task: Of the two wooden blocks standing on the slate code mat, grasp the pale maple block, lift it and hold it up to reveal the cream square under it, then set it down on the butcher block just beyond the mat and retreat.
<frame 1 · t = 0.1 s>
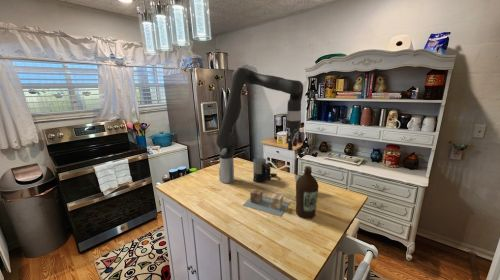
hand: (292, 148, 115), 29 cm above the worktop, fingers open, 8 cm apart
code mat: (266, 204, 114), on the worktop
food container: (302, 191, 127), on the worktop
milk frother: (265, 179, 145), on the worktop
maple block: (276, 206, 111), resting on code mat
walnut block: (256, 201, 117), resting on code mat
olive oil: (305, 213, 105), on the worktop
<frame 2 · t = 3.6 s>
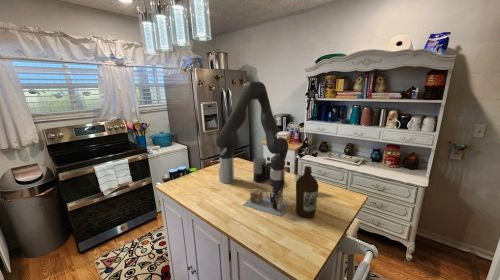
hand: (276, 205, 111), 1 cm above the worktop, fingers closed on maple block, 5 cm apart
maple block: (276, 206, 111), resting on code mat, touching gripper
everything else where it was.
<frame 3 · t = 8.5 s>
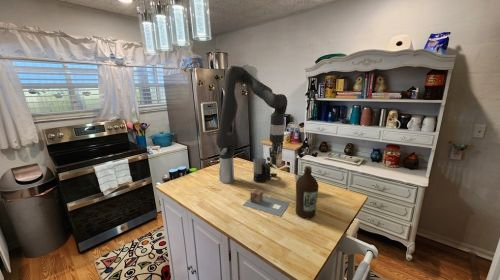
hand: (275, 162, 115), 22 cm above the worktop, fingers closed on maple block, 5 cm apart
maple block: (275, 163, 115), point 21 cm above the worktop, touching gripper
everything else where it was.
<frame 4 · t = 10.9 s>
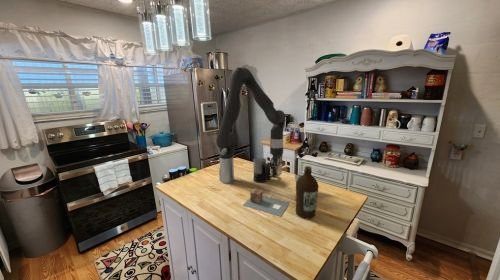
hand: (276, 173, 123), 13 cm above the worktop, fingers closed on maple block, 5 cm apart
maple block: (276, 174, 123), point 12 cm above the worktop, touching gripper
everything else where it was.
when the fingers open (2 cm above the worktop, at t = 13.3 s): maple block drops 2 cm, on the worktop.
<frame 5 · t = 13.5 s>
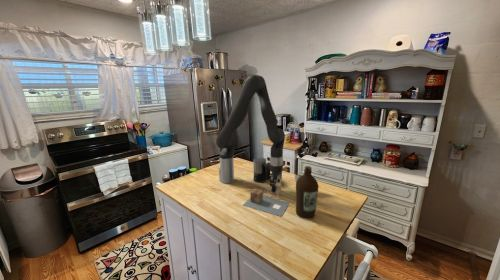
hand: (275, 189, 125), 2 cm above the worktop, fingers open, 6 cm apart
maple block: (275, 193, 126), on the worktop
everything else where it was.
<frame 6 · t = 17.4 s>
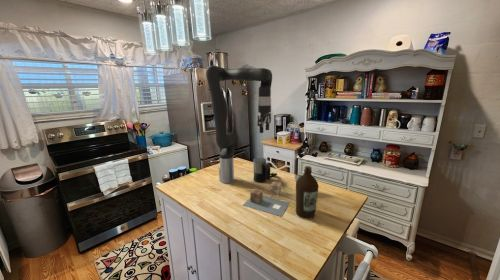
hand: (264, 131, 126), 36 cm above the worktop, fingers open, 8 cm apart
nothing on the worktop moved.
at the end: maple block inside the target area (0.1 cm from its centre), on the worktop; maple block tilted 0°; walnut block moved 0.0 cm from its start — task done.
